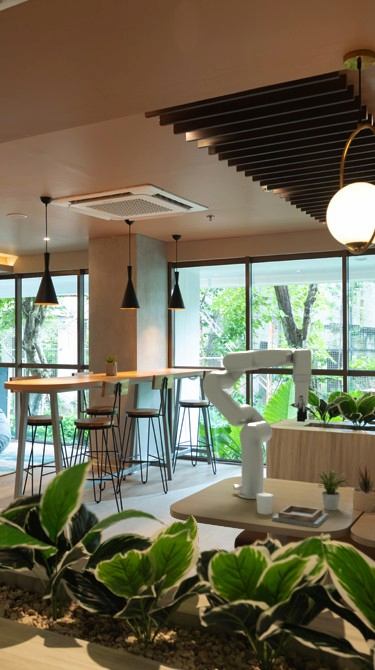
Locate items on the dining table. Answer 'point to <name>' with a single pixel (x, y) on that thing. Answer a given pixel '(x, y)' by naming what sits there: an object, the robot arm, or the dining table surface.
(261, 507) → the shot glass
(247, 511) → the dining table surface
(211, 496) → the dining table surface
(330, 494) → the house plant
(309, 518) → the tray
